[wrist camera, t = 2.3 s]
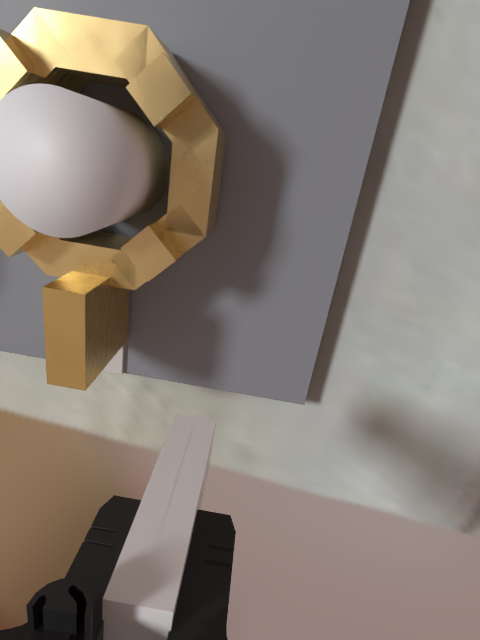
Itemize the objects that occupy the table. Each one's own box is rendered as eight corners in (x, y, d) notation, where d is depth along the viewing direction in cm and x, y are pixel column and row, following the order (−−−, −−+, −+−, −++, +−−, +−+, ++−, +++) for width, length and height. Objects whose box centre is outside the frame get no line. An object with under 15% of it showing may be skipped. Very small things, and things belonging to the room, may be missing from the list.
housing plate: (-143, -189, 16) (-463, -461, 9) (429, -102, 16) (555, -316, 9) (-58, 330, 25) (-184, 392, 18) (302, 394, 25) (313, 483, 18)
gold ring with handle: (6, 22, 17) (-108, -39, 12) (236, 59, 17) (220, 13, 12) (27, 321, 23) (-45, 367, 18) (199, 352, 22) (177, 407, 17)
